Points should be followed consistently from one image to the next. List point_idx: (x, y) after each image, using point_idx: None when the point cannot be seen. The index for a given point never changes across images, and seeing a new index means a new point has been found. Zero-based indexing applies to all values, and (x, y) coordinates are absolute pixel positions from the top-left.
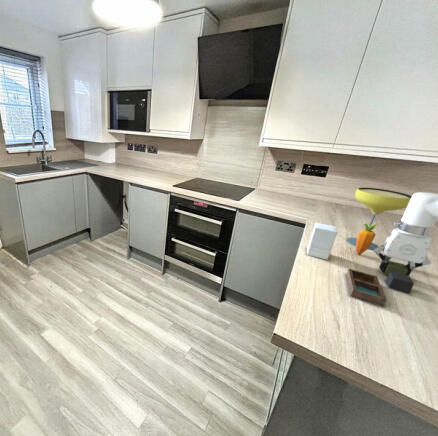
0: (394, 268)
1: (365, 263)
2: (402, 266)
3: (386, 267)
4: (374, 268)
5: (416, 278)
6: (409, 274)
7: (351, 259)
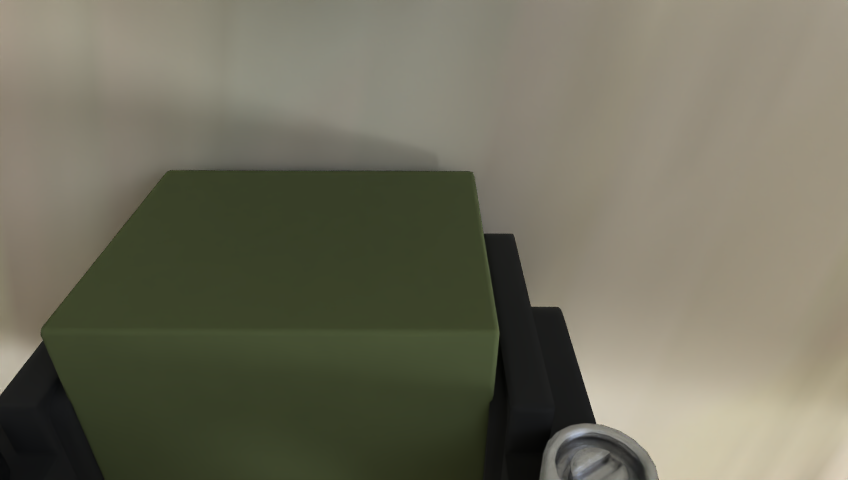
0: (355, 295)
1: (652, 441)
2: (174, 468)
3: None
4: None
5: None
6: None
7: (839, 455)
